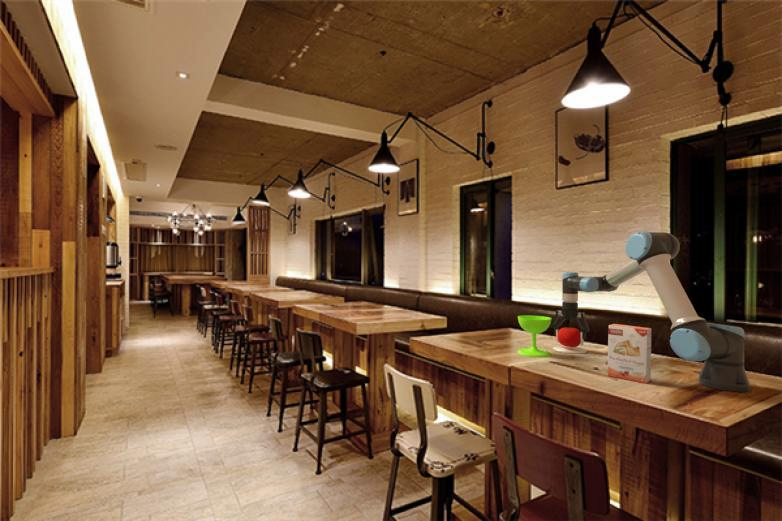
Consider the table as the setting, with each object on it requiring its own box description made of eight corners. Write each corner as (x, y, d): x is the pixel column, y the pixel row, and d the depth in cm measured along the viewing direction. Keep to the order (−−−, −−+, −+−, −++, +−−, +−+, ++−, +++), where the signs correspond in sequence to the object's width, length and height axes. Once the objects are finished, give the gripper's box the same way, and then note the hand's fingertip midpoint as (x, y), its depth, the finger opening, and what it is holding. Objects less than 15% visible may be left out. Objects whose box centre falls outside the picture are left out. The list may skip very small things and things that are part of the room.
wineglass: (556, 353, 206) (556, 317, 206) (542, 358, 195) (543, 320, 195) (525, 348, 217) (526, 314, 217) (511, 353, 206) (512, 317, 206)
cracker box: (607, 376, 166) (607, 324, 166) (612, 373, 170) (613, 323, 170) (646, 384, 156) (647, 329, 156) (651, 381, 160) (651, 327, 160)
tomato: (585, 347, 214) (586, 326, 214) (574, 350, 206) (574, 329, 206) (564, 343, 222) (565, 324, 222) (553, 346, 215) (553, 326, 215)
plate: (581, 355, 203) (581, 353, 203) (548, 350, 213) (548, 348, 213) (590, 350, 215) (590, 348, 215) (558, 345, 225) (558, 344, 225)
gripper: (596, 302, 209) (596, 345, 209) (549, 299, 225) (549, 339, 225) (592, 303, 204) (592, 347, 204) (544, 300, 219) (544, 341, 219)
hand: (569, 343), depth 214 cm, fingers closed on tomato, 11 cm apart
